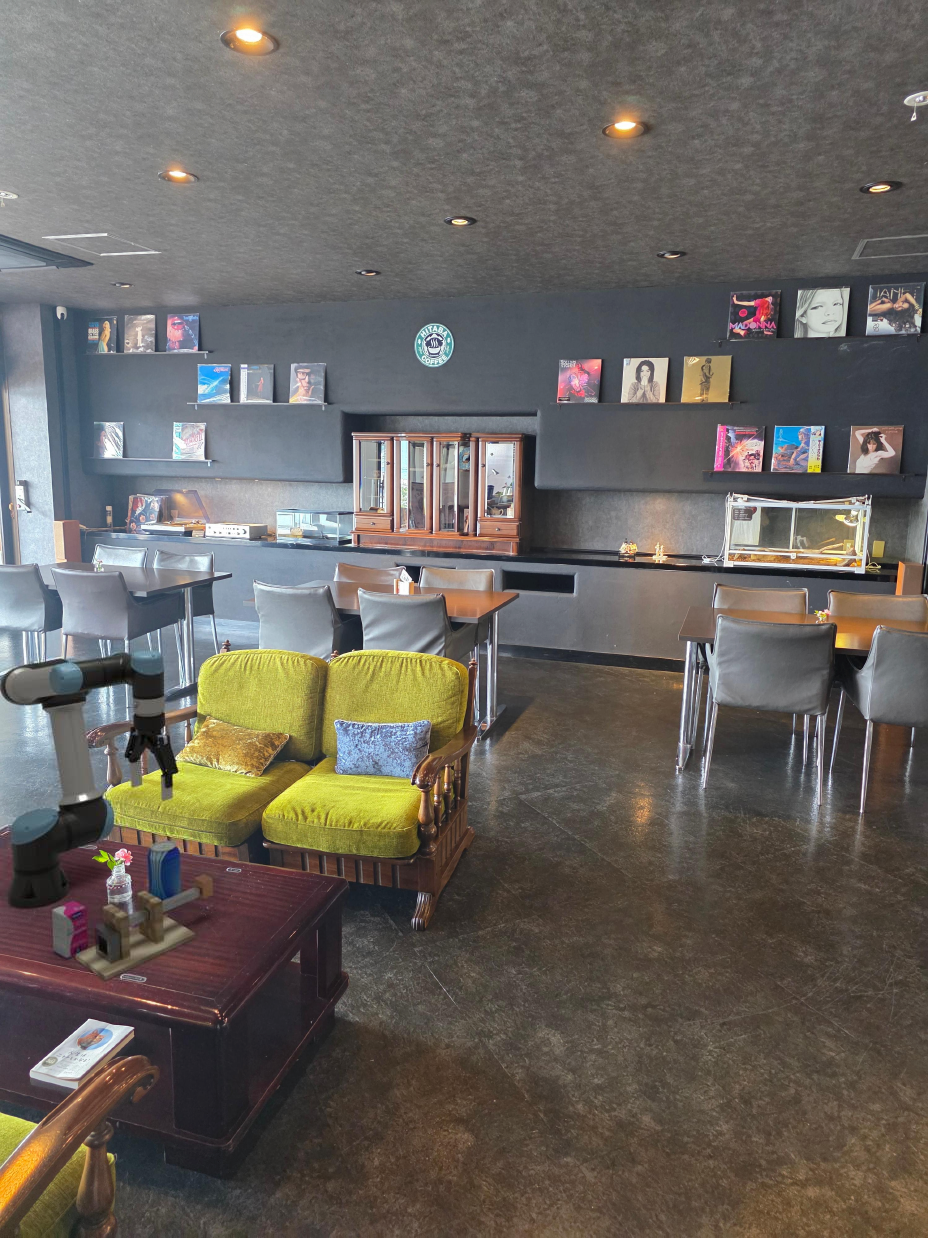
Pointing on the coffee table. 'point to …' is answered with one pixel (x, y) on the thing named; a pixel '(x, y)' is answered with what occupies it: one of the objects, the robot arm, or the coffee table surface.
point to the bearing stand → (137, 938)
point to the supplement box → (69, 929)
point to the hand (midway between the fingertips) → (151, 792)
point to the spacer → (107, 943)
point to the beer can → (164, 870)
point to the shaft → (178, 898)
